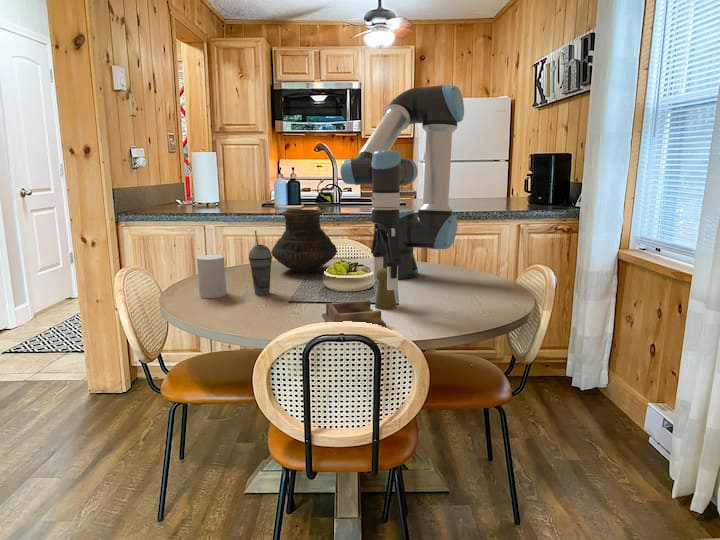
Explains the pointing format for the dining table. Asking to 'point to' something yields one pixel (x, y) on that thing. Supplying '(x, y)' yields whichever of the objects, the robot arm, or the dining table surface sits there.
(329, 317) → the brown wooden tray
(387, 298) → the olive tall piece
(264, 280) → the beverage cup
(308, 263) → the ceramic pot
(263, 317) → the dining table surface
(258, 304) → the dining table surface
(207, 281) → the grey cylinder
